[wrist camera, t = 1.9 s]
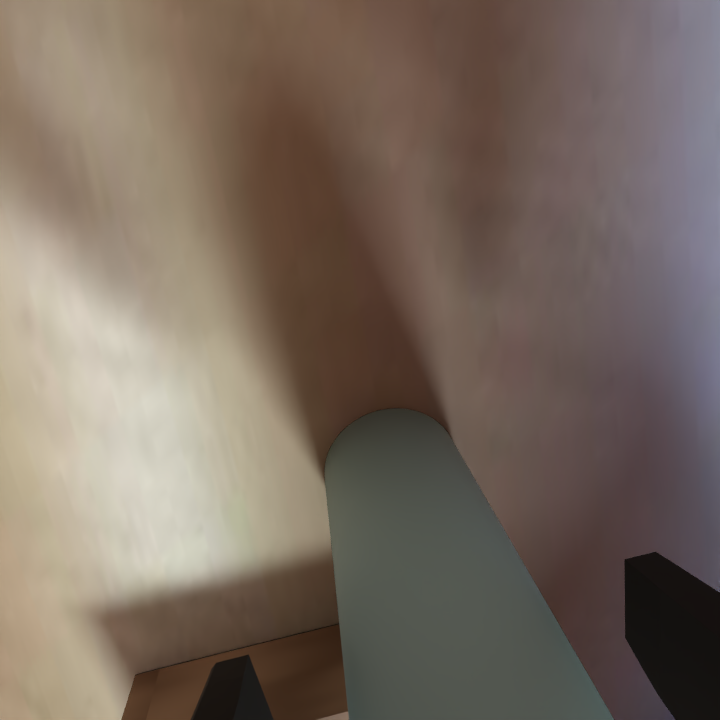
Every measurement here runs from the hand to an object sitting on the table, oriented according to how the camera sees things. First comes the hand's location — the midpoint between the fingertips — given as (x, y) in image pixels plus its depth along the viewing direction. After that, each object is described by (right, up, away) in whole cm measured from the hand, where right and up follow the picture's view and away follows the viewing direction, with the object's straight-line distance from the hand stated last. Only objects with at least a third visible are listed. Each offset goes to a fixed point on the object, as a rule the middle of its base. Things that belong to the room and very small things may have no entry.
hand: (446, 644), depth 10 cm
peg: (-1, +2, +6) cm, 6 cm away
